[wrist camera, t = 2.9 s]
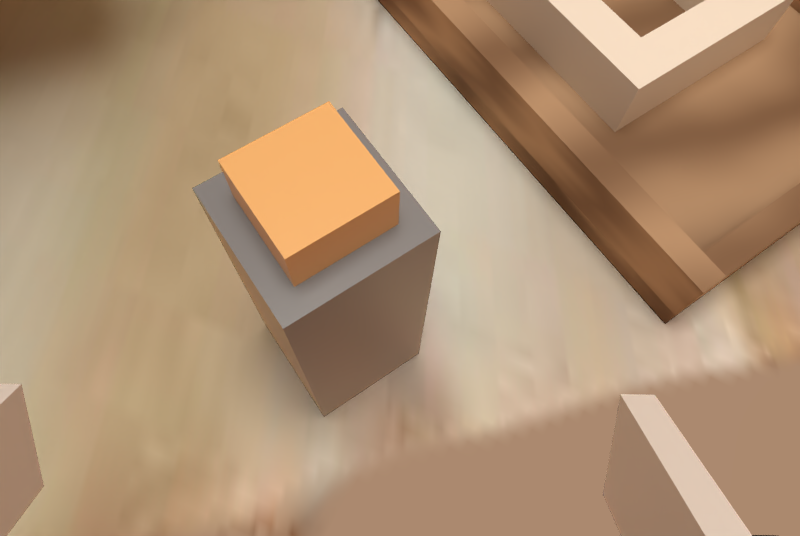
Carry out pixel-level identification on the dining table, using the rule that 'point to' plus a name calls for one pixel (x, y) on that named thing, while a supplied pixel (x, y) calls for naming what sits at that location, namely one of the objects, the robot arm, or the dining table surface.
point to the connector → (326, 250)
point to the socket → (637, 47)
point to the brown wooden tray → (640, 144)
